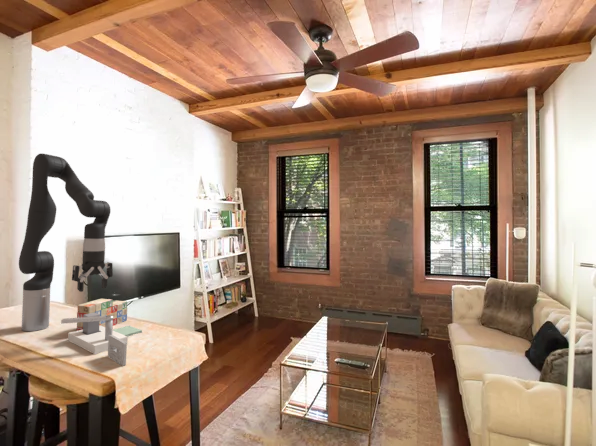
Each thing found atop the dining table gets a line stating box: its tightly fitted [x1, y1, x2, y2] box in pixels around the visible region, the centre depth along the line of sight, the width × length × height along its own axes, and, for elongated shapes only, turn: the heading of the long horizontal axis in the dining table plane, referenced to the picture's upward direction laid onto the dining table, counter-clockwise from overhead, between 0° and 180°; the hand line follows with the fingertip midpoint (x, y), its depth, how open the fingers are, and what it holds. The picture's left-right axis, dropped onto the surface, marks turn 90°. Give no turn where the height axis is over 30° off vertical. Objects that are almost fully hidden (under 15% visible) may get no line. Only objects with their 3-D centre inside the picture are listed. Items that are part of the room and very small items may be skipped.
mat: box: [113, 325, 143, 337], centre depth 138 cm, size 10×10×1 cm
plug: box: [83, 312, 100, 335], centre depth 129 cm, size 4×4×10 cm
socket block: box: [67, 320, 129, 355], centre depth 126 cm, size 21×12×10 cm, turn 58°
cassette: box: [107, 335, 128, 367], centre depth 111 cm, size 12×2×8 cm, turn 53°
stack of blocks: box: [76, 298, 128, 331], centre depth 145 cm, size 21×6×12 cm, turn 166°
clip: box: [60, 315, 113, 325], centre depth 120 cm, size 16×3×1 cm, turn 112°
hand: (92, 289), depth 129 cm, fingers open, 8 cm apart
